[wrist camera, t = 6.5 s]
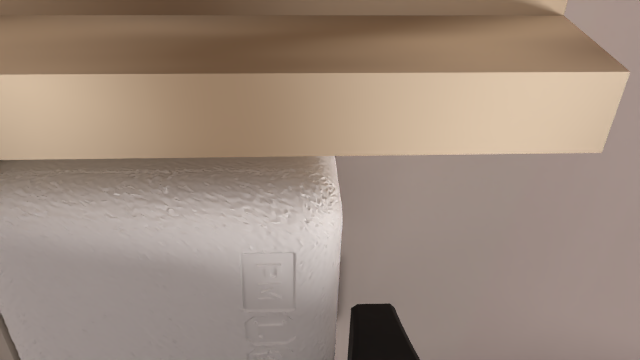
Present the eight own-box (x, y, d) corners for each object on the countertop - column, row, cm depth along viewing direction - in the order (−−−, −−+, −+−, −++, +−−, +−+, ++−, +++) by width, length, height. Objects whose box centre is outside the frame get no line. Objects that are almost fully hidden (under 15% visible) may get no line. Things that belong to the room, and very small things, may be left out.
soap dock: (665, -437, 6) (846, -539, 4) (419, 537, 20) (435, 625, 18) (-299, -481, 6) (-609, -619, 4) (118, 552, 19) (98, 644, 17)
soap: (17, 104, 10) (-70, 212, 7) (334, 104, 10) (351, 207, 8) (112, 412, 15) (78, 536, 13) (321, 406, 15) (328, 525, 13)
